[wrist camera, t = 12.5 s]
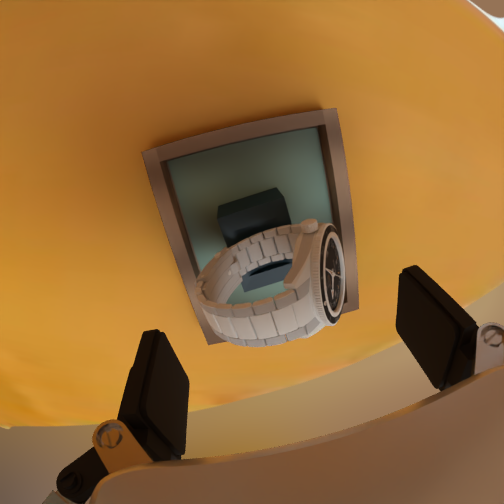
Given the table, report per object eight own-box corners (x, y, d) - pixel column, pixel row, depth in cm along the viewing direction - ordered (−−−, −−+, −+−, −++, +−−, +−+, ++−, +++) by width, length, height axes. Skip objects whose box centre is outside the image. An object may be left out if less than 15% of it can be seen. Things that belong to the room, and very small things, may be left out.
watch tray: (151, 148, 20) (141, 152, 18) (323, 109, 20) (336, 107, 17) (209, 325, 27) (208, 345, 24) (348, 292, 26) (358, 308, 24)
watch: (319, 247, 23) (379, 336, 13) (220, 278, 23) (218, 385, 13) (302, 178, 21) (368, 229, 11) (194, 212, 21) (165, 292, 11)
